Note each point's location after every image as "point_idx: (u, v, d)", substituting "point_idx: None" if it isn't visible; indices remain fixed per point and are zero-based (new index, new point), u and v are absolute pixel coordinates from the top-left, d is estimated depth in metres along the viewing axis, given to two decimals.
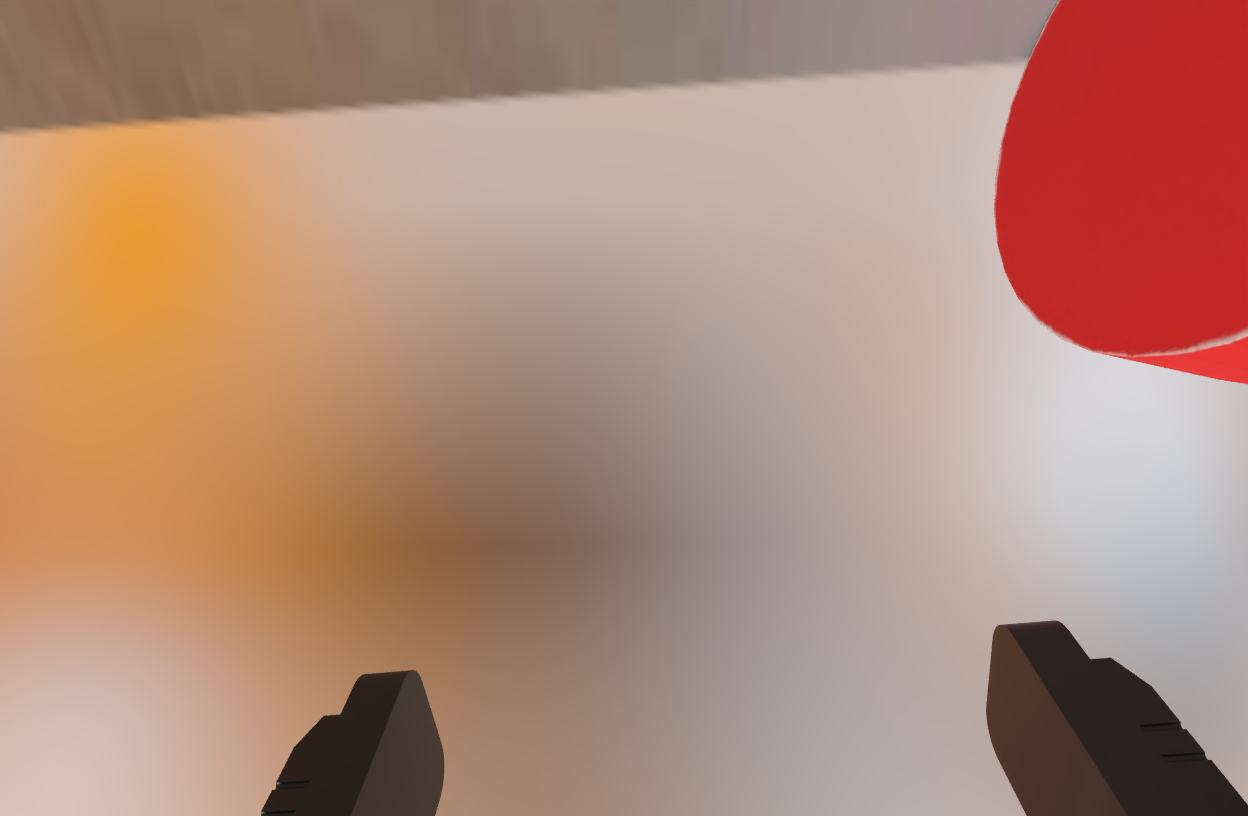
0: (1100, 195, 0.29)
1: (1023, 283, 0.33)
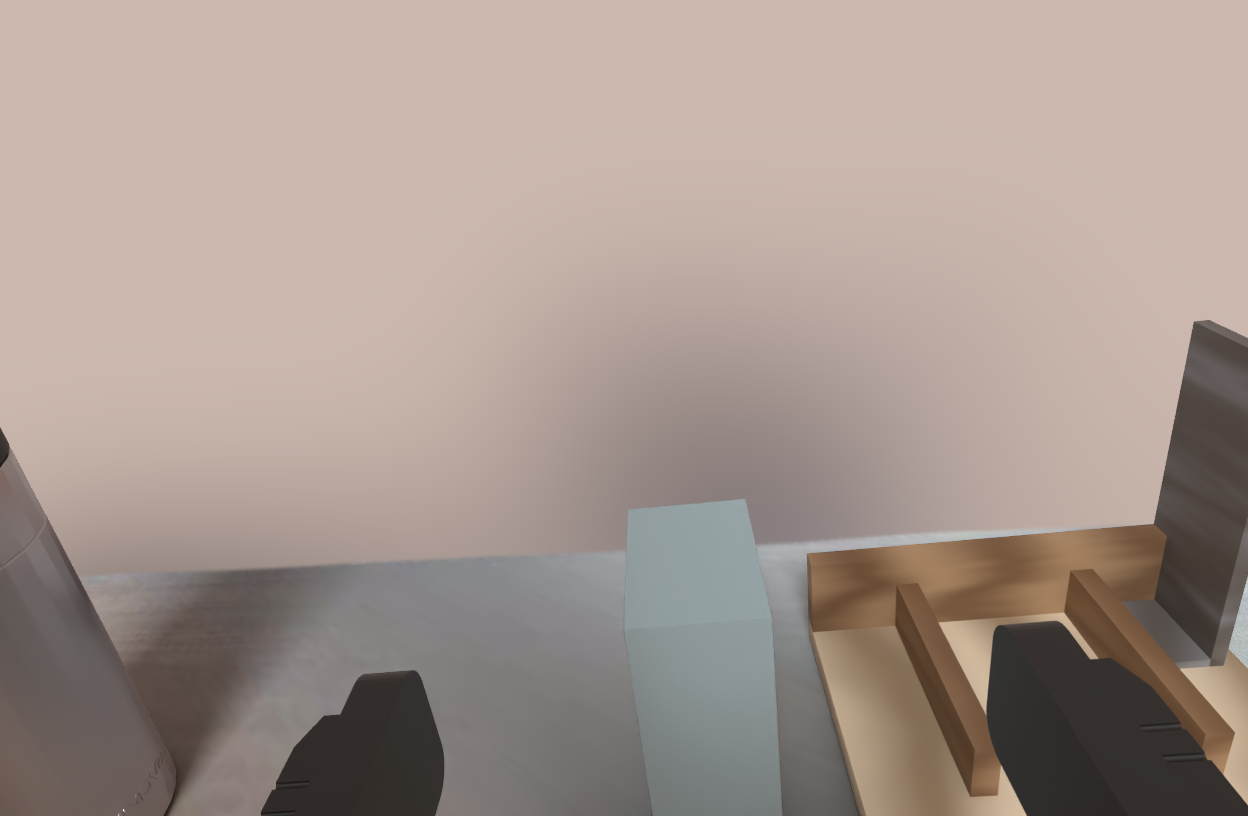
0: None
1: None
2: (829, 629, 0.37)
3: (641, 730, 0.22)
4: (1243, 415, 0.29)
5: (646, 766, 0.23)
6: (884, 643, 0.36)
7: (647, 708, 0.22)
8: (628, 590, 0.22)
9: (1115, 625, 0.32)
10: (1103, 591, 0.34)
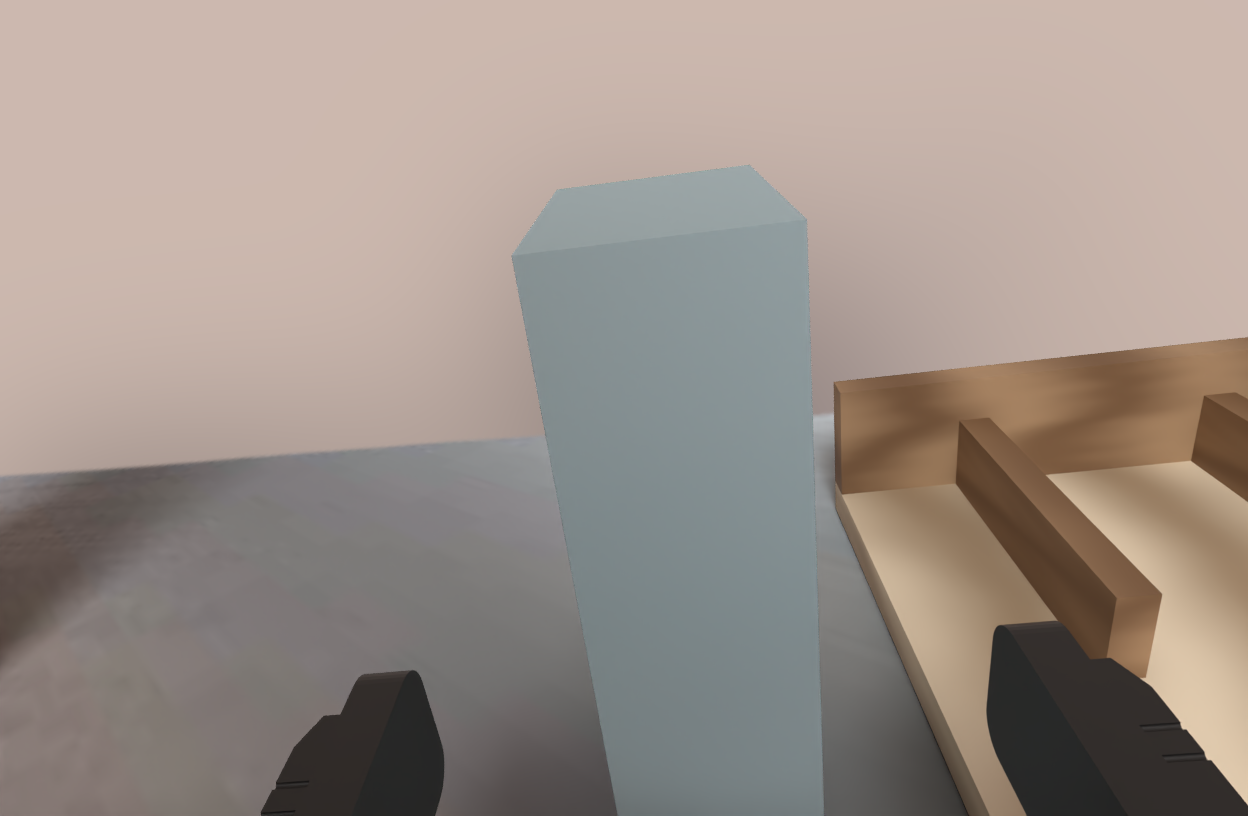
0: None
1: None
2: (864, 489, 0.27)
3: (560, 493, 0.12)
4: None
5: (573, 570, 0.13)
6: (943, 502, 0.26)
7: (568, 443, 0.12)
8: (535, 230, 0.12)
9: None
10: None
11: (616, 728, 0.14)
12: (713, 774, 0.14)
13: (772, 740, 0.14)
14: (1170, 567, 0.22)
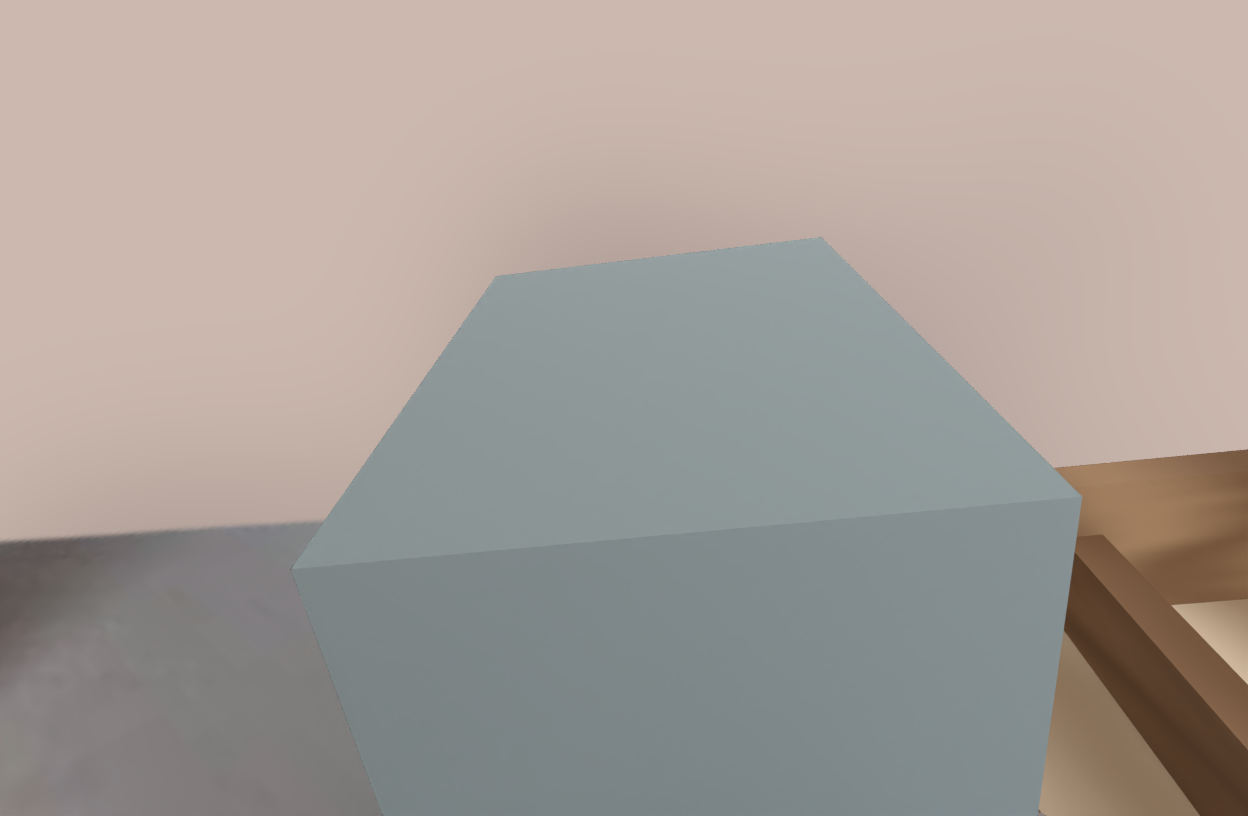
0: None
1: None
2: None
3: None
4: None
5: None
6: None
7: None
8: (402, 428, 0.05)
9: None
10: None
11: None
12: None
13: None
14: None
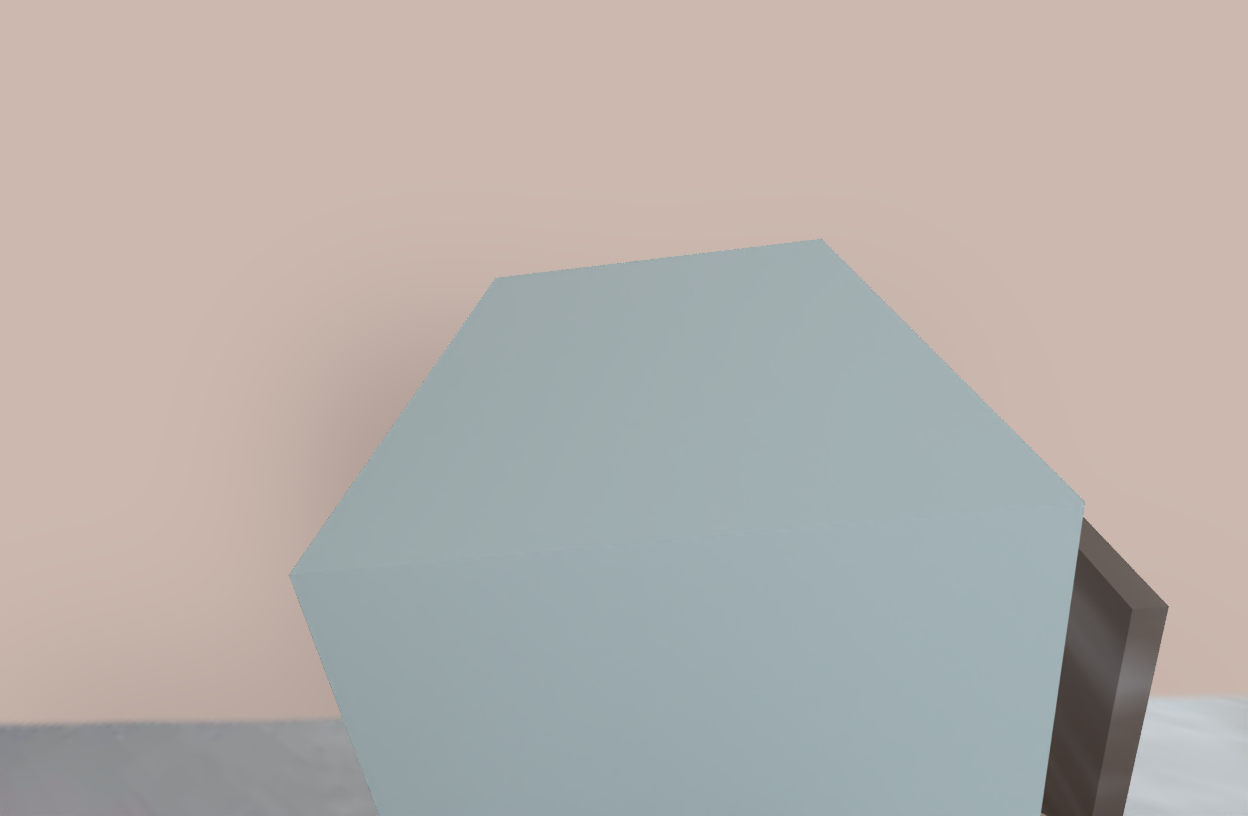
0: None
1: None
2: None
3: None
4: (1074, 664, 0.15)
5: None
6: None
7: None
8: (401, 431, 0.05)
9: None
10: None
11: None
12: None
13: None
14: None
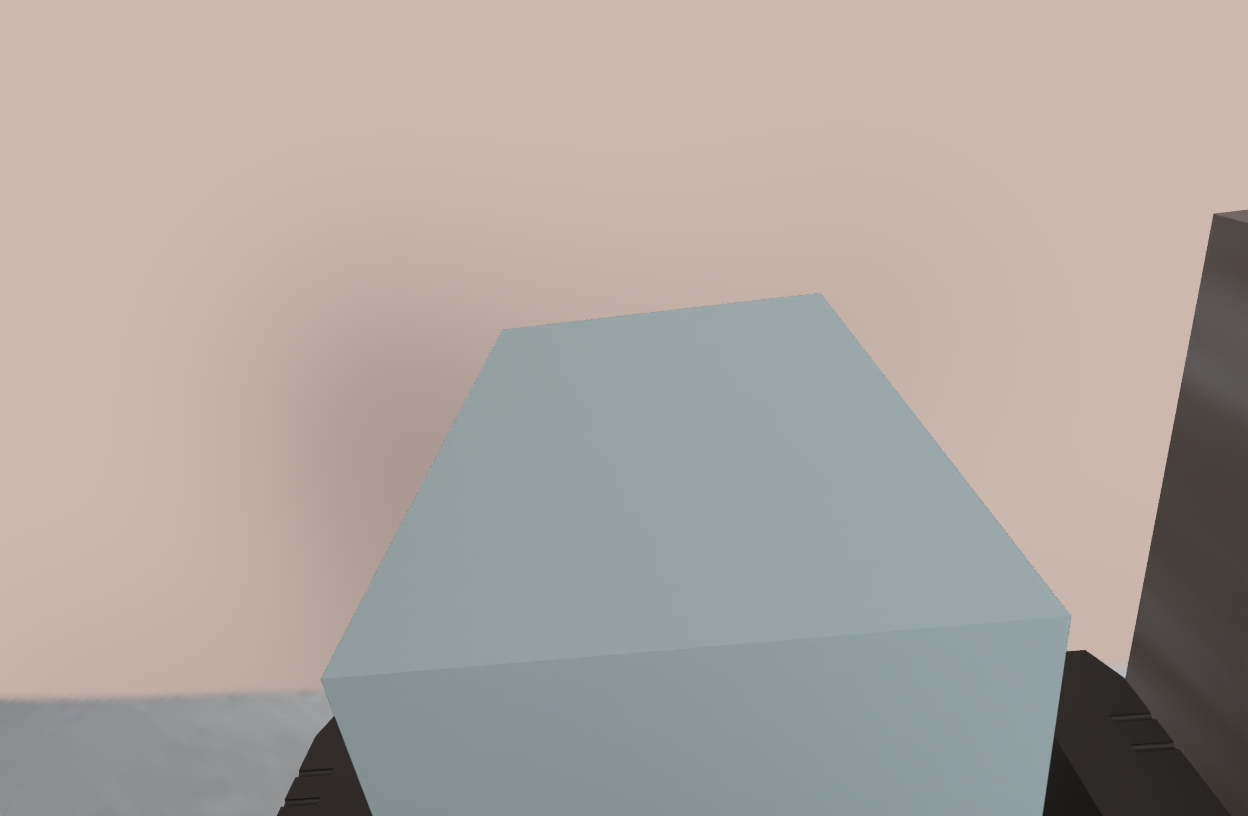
0: None
1: None
2: None
3: None
4: None
5: None
6: None
7: None
8: (419, 515, 0.06)
9: None
10: None
11: None
12: None
13: None
14: None
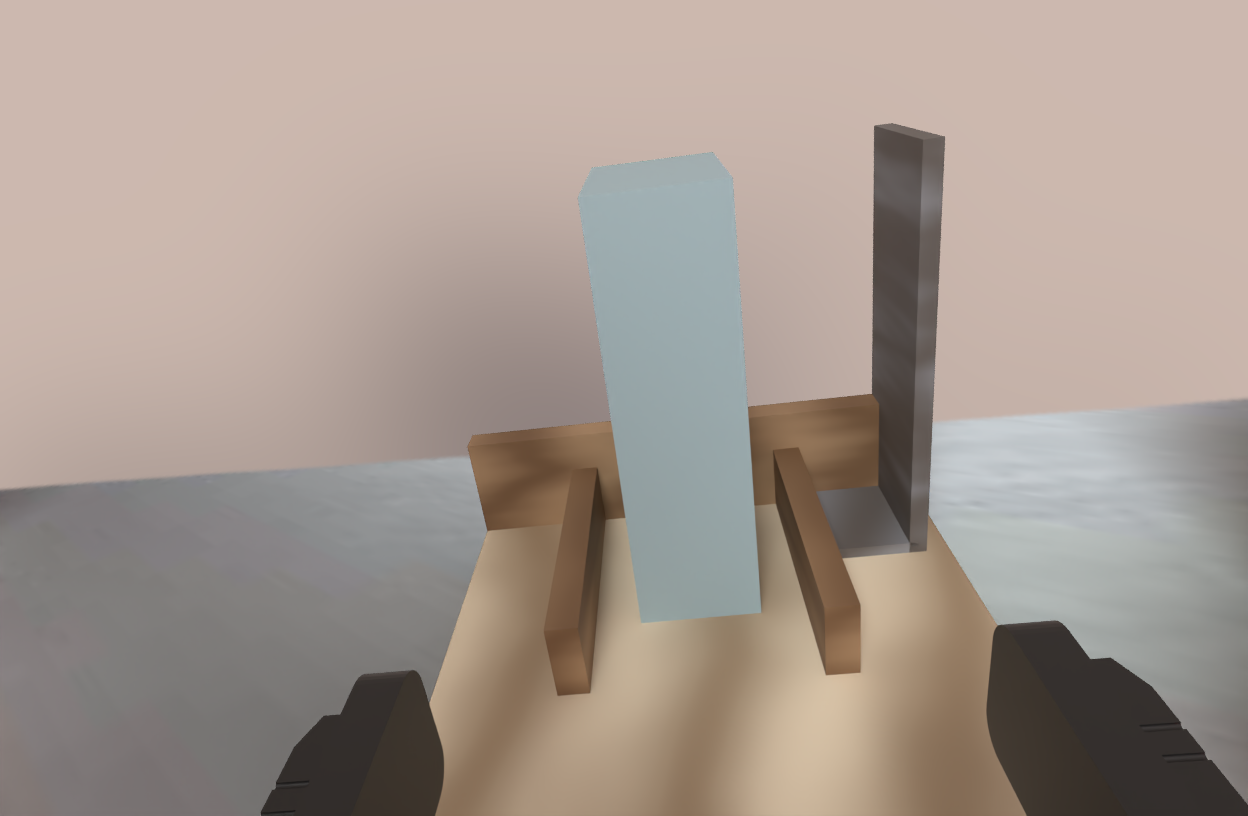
0: None
1: None
2: (505, 527, 0.32)
3: (600, 334, 0.21)
4: (905, 222, 0.24)
5: (607, 383, 0.22)
6: (558, 539, 0.31)
7: (605, 304, 0.21)
8: (586, 187, 0.21)
9: (789, 500, 0.27)
10: (796, 468, 0.28)
11: (631, 489, 0.23)
12: (689, 522, 0.24)
13: (724, 496, 0.23)
14: None
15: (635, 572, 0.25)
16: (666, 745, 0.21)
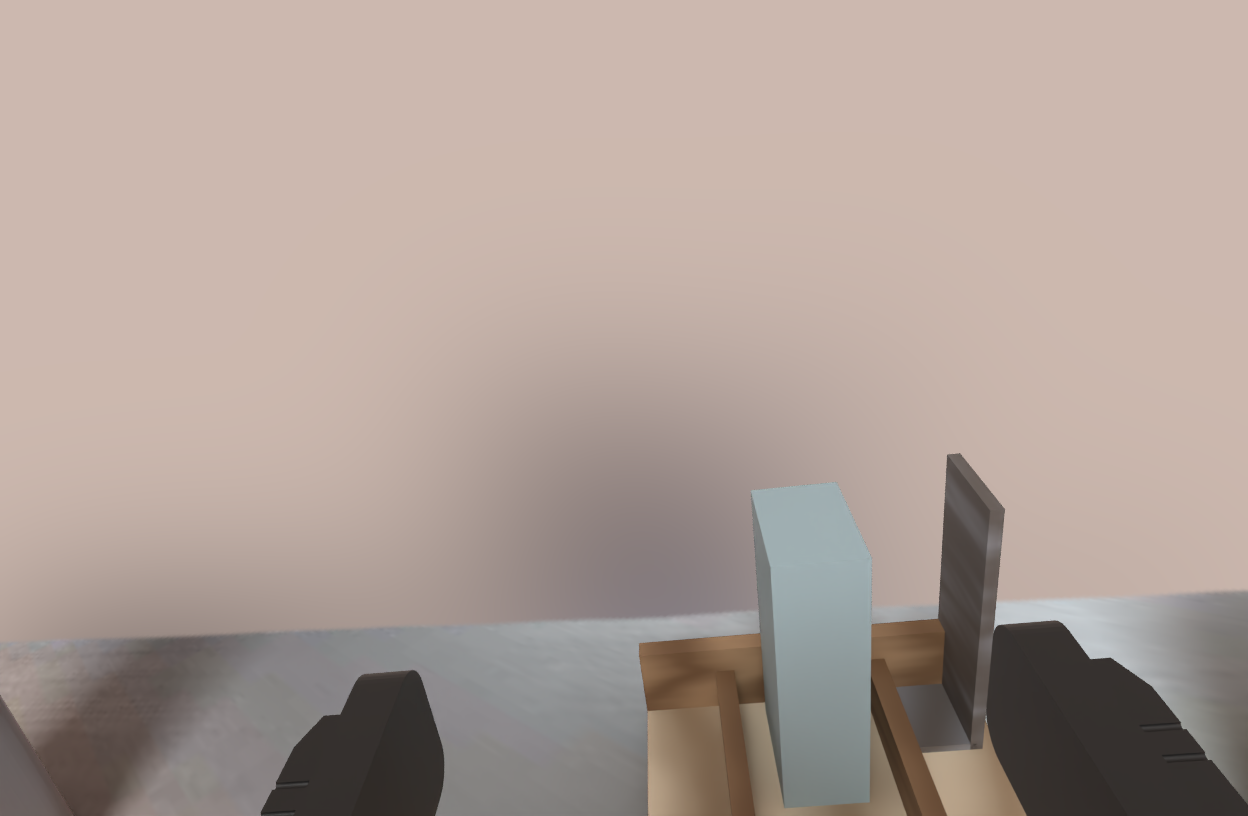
0: None
1: None
2: (661, 708, 0.42)
3: (776, 640, 0.32)
4: (973, 542, 0.34)
5: (777, 667, 0.33)
6: (705, 723, 0.41)
7: (781, 624, 0.32)
8: (766, 543, 0.32)
9: (885, 715, 0.37)
10: (886, 681, 0.39)
11: (786, 728, 0.34)
12: (824, 747, 0.34)
13: (849, 732, 0.34)
14: None
15: (784, 777, 0.35)
16: None
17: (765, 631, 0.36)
